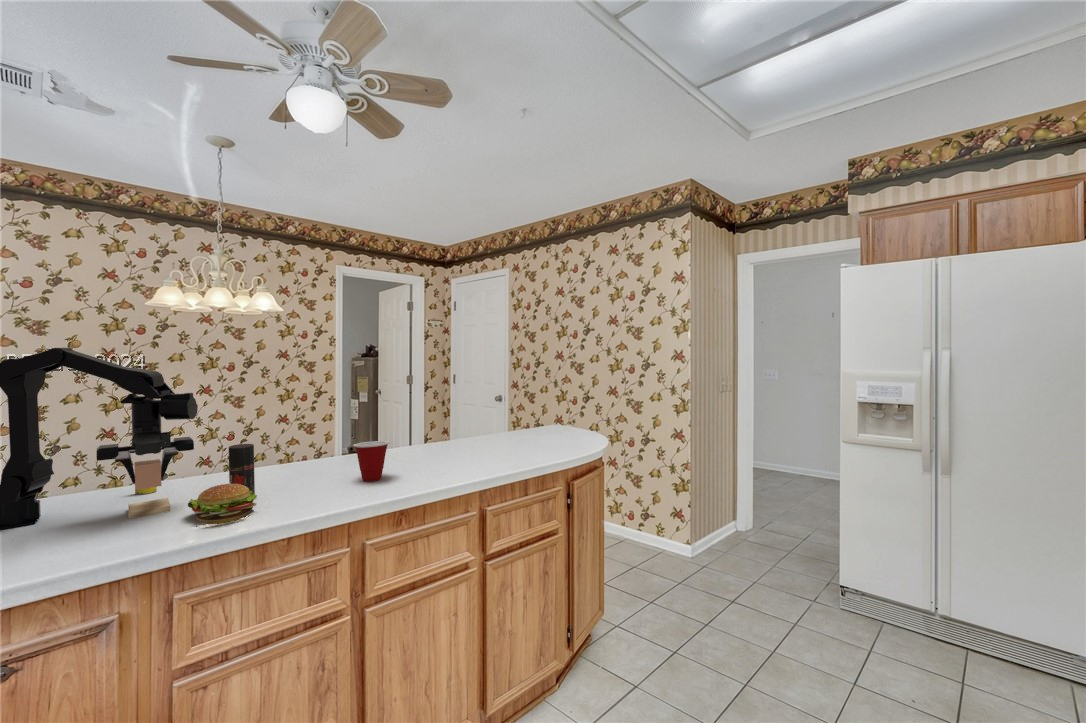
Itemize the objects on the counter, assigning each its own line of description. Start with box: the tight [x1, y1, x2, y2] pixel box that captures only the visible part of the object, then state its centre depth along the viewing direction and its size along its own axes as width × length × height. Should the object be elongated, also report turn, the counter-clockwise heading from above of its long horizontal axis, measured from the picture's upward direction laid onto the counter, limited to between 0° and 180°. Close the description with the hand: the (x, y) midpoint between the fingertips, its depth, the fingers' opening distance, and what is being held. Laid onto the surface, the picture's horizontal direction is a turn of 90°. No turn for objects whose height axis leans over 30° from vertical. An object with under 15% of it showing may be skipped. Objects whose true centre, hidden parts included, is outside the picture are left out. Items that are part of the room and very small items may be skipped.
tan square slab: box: [127, 497, 171, 519], centre depth 122 cm, size 8×8×2 cm
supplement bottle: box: [134, 487, 158, 496], centre depth 136 cm, size 5×5×8 cm
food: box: [187, 483, 258, 525], centre depth 120 cm, size 14×14×8 cm
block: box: [133, 458, 162, 491], centre depth 121 cm, size 5×5×6 cm
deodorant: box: [228, 443, 256, 495], centre depth 133 cm, size 6×6×15 cm
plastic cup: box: [353, 440, 390, 483], centre depth 153 cm, size 11×11×12 cm
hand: (148, 481), depth 121 cm, fingers closed on block, 5 cm apart
